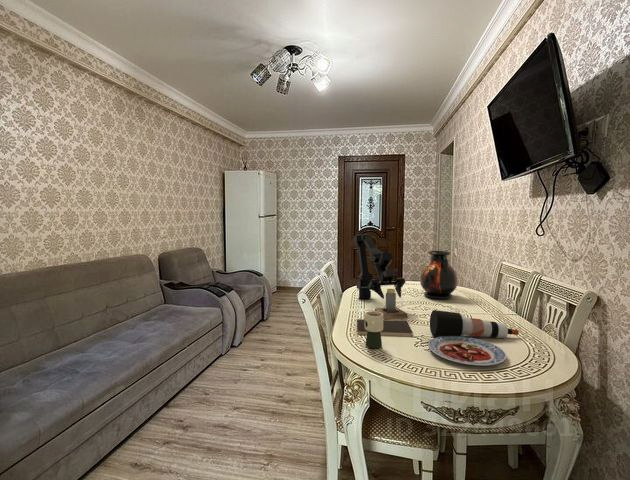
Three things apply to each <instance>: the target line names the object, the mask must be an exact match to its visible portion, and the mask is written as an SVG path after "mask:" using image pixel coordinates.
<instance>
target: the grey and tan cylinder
mask: <svg viewBox="0 0 630 480" xmlns="http://www.w3.org/2000/svg"><path fill="white" fill-rule="evenodd" d="M396 303H397V292H396V290H395V288H387V289H386V293H385V308H386V313H396V307H397V304H396Z"/></svg>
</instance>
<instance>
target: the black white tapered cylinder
mask: <svg viewBox="0 0 630 480" xmlns="http://www.w3.org/2000/svg"><path fill="white" fill-rule="evenodd" d="M429 330H430V333H431V334H432V335H433V336H438V337H442V336H468V337H479V338H480V337H484V338H497V339H498V338H499V339H506V338H507V336H508V335H513V336H518V335H519V329H513V328H508V325H507V323H504V322H497V321H491V320H490V321H489V320H486V319H485V320H484V319H481V318H475V317H474V318H473V317H466V316H462V314H461V313H460V312H455V311H444V310H437V309H433V310H432V311H431V313H430V318H429Z"/></svg>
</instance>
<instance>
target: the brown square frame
mask: <svg viewBox="0 0 630 480" xmlns="http://www.w3.org/2000/svg"><path fill="white" fill-rule="evenodd" d="M374 311H378V312H381V313H383V320H392V319H393V320H395V319H401V318H402V319H406V318H408V313H407V312H406V311H404V310H402V309H400V308H399V307H398V306H396V313H386V307H376V308H374Z"/></svg>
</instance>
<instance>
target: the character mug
mask: <svg viewBox="0 0 630 480" xmlns="http://www.w3.org/2000/svg"><path fill="white" fill-rule="evenodd" d="M364 319H365V322H364V325H365V330H367V331H368V332H367V335H366V339H365V347H367V348H374V349H375V348H381V347H383V342H382V335H381V333H380V331H382V330H383V320H384V318H383V313H381V312H378V311H375V310H368V311H365V312H364Z"/></svg>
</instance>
